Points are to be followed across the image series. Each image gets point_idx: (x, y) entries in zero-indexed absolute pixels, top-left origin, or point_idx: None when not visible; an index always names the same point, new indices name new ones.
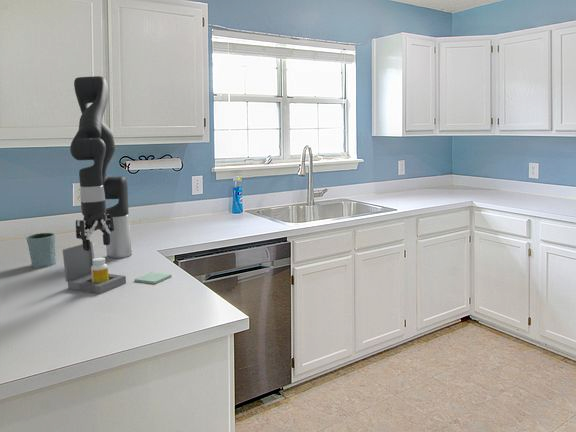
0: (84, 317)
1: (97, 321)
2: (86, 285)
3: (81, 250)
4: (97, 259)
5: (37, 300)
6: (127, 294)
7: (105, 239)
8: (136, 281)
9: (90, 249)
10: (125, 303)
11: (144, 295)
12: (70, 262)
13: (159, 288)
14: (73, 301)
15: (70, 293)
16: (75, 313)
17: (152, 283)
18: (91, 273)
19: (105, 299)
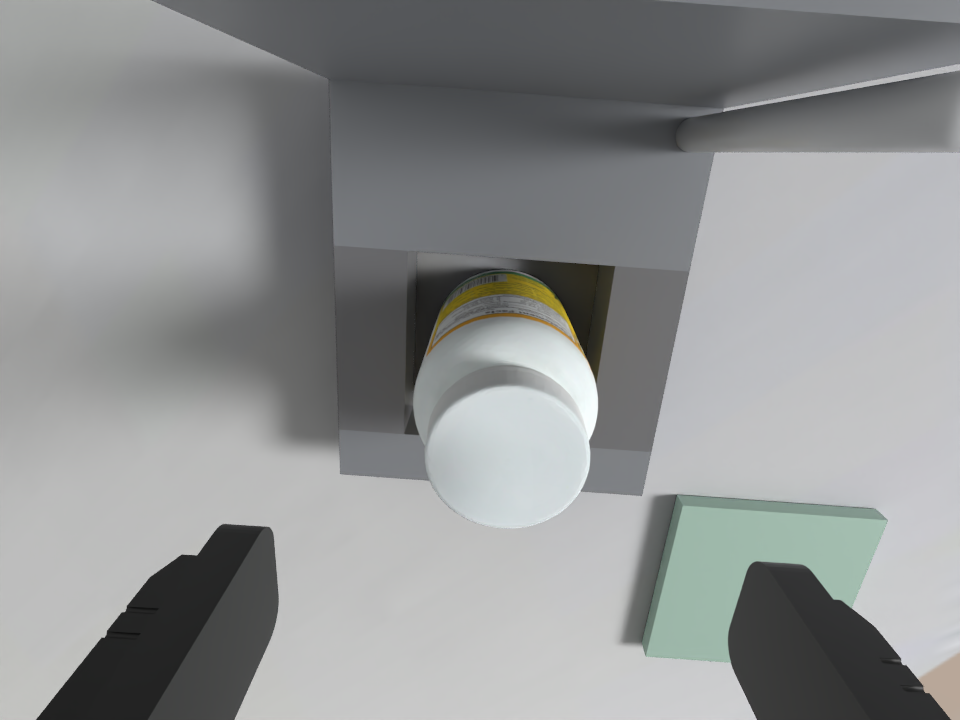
0: (22, 607)
1: (30, 686)
2: (339, 336)
3: (632, 36)
4: (488, 457)
5: (4, 58)
6: (411, 601)
7: (799, 712)
8: (674, 510)
9: (266, 637)
10: (282, 668)
11: (431, 686)
12: (340, 44)
13: (567, 697)
14: (153, 375)
15: (267, 212)
16: (27, 531)
17: (646, 626)
18: (433, 337)
19: (283, 539)
